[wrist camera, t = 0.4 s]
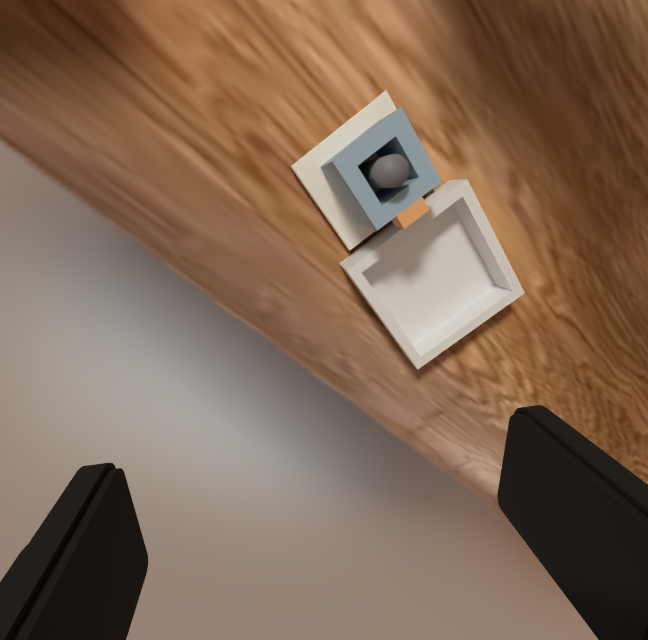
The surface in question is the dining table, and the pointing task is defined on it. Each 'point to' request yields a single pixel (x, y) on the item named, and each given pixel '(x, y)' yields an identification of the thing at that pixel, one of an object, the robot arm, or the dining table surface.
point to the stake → (374, 169)
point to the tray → (435, 274)
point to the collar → (387, 202)
